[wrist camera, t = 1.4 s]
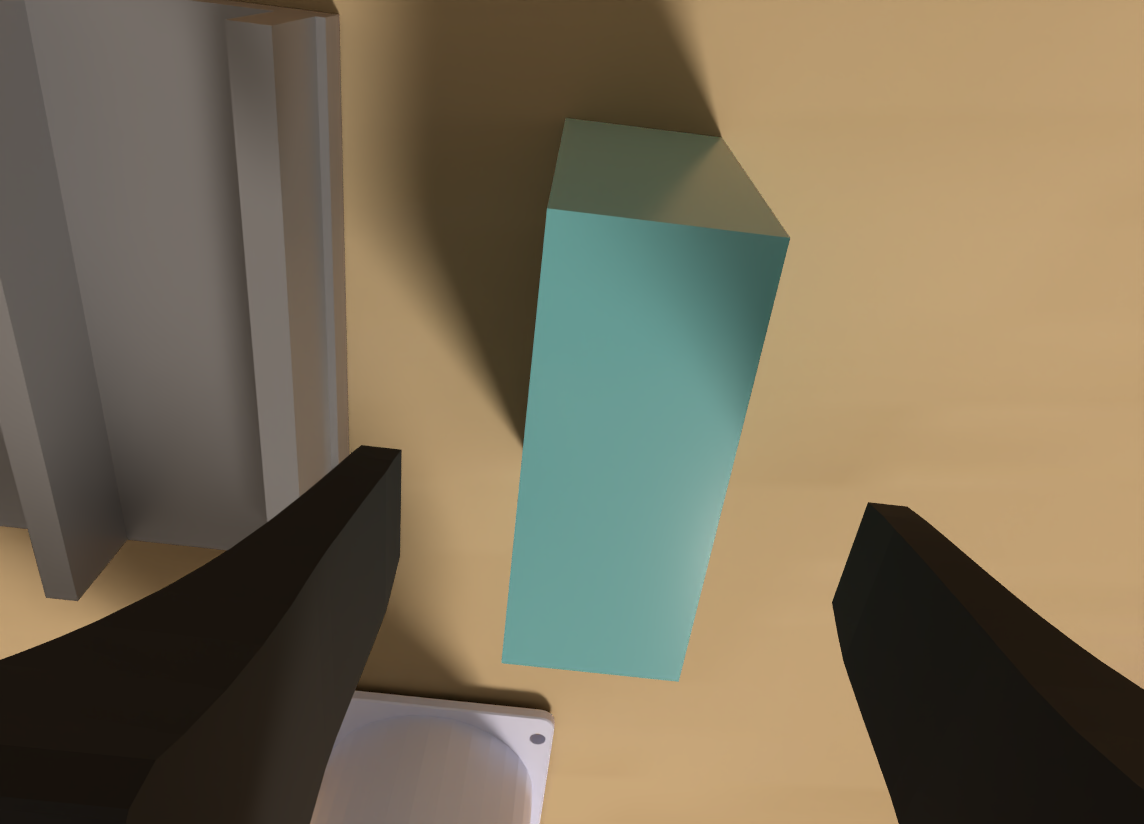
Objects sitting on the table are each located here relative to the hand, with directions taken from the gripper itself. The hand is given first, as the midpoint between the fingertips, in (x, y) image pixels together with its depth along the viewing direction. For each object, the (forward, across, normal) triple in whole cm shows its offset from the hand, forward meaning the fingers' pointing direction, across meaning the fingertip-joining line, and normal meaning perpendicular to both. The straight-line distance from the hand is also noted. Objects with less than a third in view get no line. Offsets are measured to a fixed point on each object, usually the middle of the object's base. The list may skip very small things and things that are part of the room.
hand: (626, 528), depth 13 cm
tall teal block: (+9, 0, 0) cm, 9 cm away
